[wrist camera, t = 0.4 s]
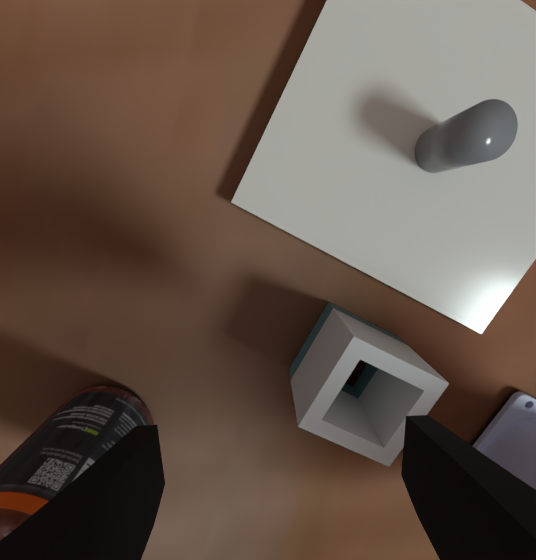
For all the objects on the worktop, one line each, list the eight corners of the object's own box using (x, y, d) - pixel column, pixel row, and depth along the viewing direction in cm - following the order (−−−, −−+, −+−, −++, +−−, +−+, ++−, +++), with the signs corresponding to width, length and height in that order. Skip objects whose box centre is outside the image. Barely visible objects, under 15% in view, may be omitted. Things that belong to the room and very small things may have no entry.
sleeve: (399, 337, 18) (449, 383, 13) (356, 401, 19) (389, 466, 14) (328, 301, 17) (353, 336, 13) (288, 369, 18) (297, 426, 14)
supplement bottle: (79, 465, 20) (-154, 785, 9) (52, 387, 18) (-262, 648, 7) (166, 454, 20) (43, 762, 9) (145, 374, 18) (-32, 619, 7)
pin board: (628, 101, 15) (776, 57, 11) (469, 327, 18) (536, 364, 14) (367, -80, 13) (417, -222, 9) (232, 203, 16) (221, 199, 12)
